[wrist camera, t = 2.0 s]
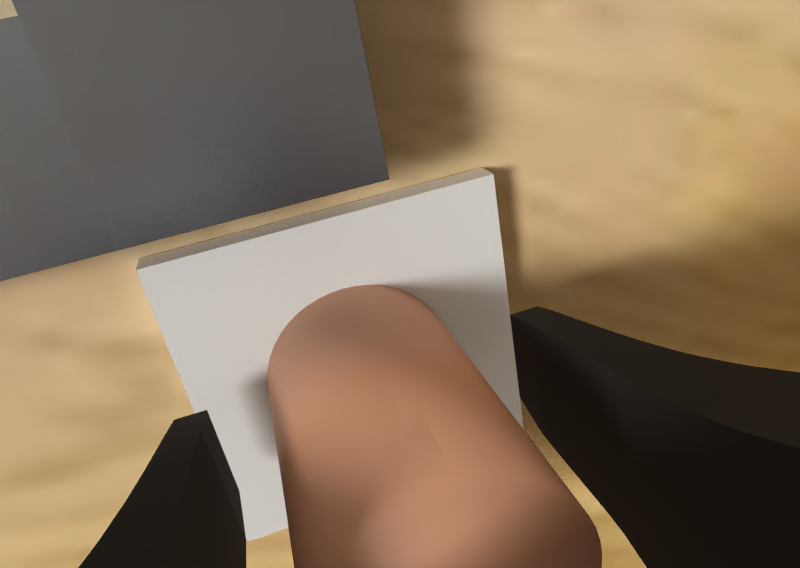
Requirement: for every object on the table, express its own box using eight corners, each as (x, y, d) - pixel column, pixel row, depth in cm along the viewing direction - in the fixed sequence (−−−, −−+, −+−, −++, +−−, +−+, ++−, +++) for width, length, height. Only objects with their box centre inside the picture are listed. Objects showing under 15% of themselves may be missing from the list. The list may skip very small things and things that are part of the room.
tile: (515, 429, 16) (525, 443, 15) (246, 522, 15) (248, 541, 14) (481, 167, 13) (493, 174, 12) (139, 258, 12) (135, 270, 11)
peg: (461, 414, 14) (607, 646, 9) (295, 471, 14) (347, 757, 8) (434, 262, 13) (595, 438, 7) (242, 317, 12) (266, 555, 7)
